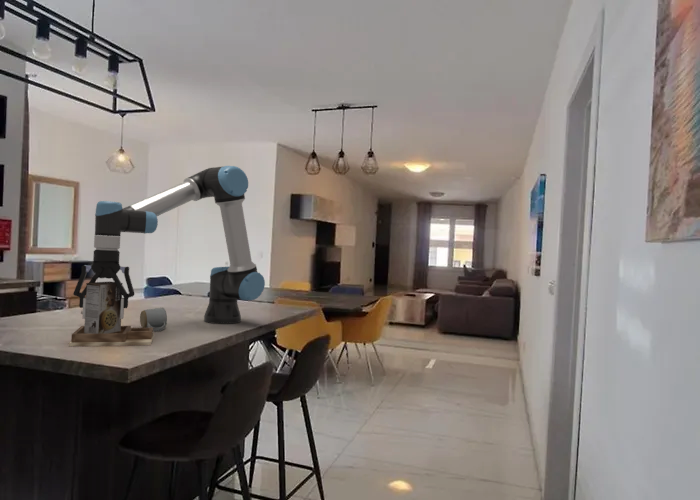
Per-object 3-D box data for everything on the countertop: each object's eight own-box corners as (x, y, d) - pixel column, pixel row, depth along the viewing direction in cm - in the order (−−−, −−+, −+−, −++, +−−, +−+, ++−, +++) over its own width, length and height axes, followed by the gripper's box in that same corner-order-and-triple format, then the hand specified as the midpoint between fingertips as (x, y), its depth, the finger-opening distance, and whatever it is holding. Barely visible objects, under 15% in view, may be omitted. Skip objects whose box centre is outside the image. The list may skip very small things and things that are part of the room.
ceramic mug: (138, 327, 188) (139, 307, 188) (160, 326, 193) (161, 306, 193) (147, 332, 180) (148, 311, 180) (170, 331, 185) (171, 310, 185)
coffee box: (106, 329, 166) (108, 281, 166) (121, 331, 164) (123, 282, 164) (82, 333, 158) (85, 282, 158) (98, 335, 156) (100, 283, 156)
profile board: (153, 335, 174) (154, 325, 174) (150, 345, 158) (151, 334, 158) (79, 335, 167) (80, 325, 167) (68, 346, 151) (69, 334, 151)
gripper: (145, 250, 168) (142, 316, 168) (69, 247, 161) (66, 316, 161) (144, 251, 161) (140, 320, 161) (64, 247, 154) (60, 319, 154)
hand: (103, 318), depth 161 cm, fingers closed on coffee box, 10 cm apart
